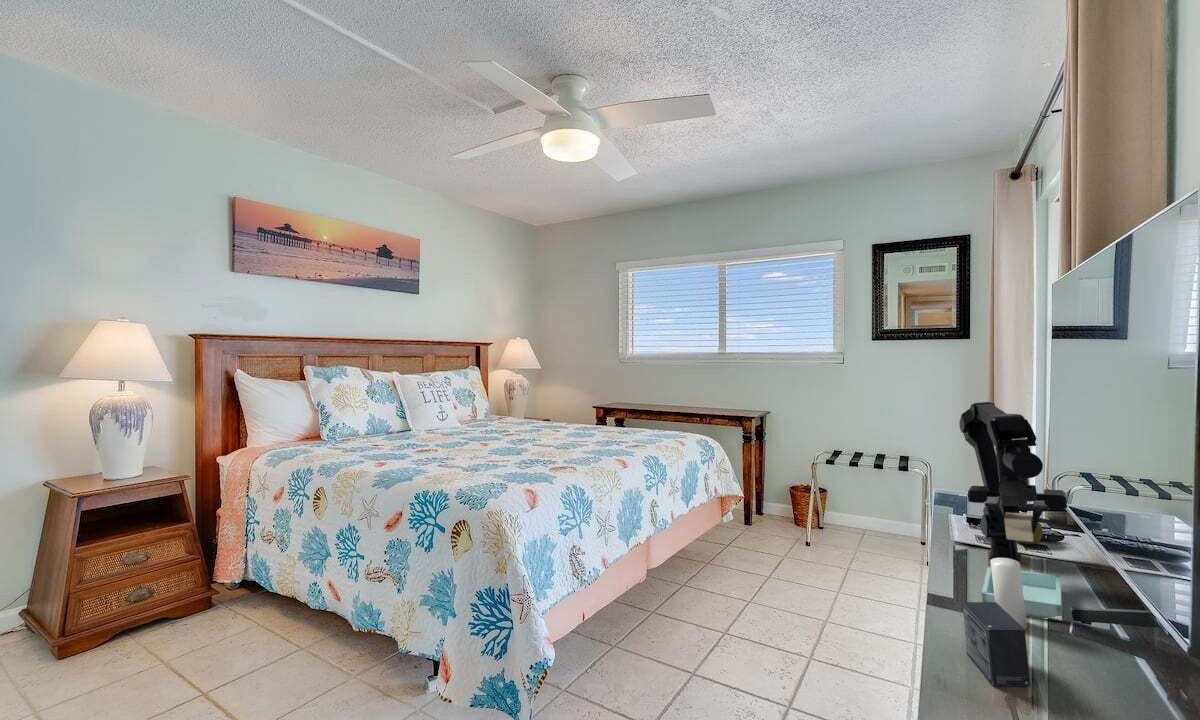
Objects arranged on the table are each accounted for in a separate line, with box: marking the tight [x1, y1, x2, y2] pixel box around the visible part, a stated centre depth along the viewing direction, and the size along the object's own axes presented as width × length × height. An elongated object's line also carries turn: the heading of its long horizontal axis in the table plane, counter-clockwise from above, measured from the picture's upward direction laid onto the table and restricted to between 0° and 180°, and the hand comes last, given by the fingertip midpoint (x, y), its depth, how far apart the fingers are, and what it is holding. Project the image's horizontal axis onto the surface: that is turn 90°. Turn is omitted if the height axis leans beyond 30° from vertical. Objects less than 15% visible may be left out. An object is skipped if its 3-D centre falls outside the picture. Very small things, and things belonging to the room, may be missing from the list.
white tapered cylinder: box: [990, 558, 1027, 630], centre depth 116 cm, size 5×5×13 cm
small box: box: [961, 601, 1031, 688], centre depth 102 cm, size 11×6×10 cm, turn 168°
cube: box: [1004, 512, 1033, 542], centre depth 132 cm, size 5×5×5 cm
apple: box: [1017, 521, 1044, 546], centre depth 153 cm, size 8×8×7 cm
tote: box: [981, 566, 1063, 619], centre depth 124 cm, size 16×14×4 cm
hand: (1019, 531), depth 132 cm, fingers closed on cube, 5 cm apart
